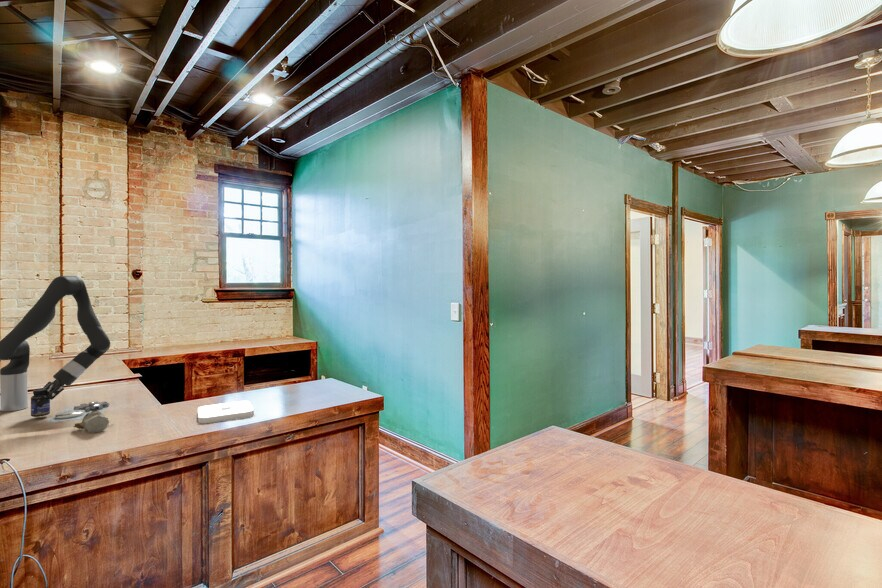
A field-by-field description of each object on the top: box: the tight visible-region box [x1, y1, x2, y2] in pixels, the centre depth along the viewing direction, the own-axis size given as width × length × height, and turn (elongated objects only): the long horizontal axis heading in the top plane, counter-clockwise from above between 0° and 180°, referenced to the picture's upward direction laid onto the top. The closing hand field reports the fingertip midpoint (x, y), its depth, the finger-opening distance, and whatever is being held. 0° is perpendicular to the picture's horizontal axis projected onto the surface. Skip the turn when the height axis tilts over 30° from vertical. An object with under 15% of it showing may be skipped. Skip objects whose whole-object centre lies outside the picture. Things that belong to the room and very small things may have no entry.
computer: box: [197, 400, 255, 424], centre depth 196 cm, size 22×22×3 cm
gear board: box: [45, 403, 110, 424], centre depth 193 cm, size 24×17×2 cm
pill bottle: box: [30, 388, 51, 418], centre depth 186 cm, size 6×6×11 cm
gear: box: [73, 401, 110, 412], centre depth 201 cm, size 13×13×3 cm
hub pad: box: [54, 410, 85, 419], centre depth 189 cm, size 10×10×1 cm
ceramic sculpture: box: [74, 409, 110, 434], centre depth 174 cm, size 11×9×15 cm
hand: (35, 404), depth 184 cm, fingers closed on pill bottle, 6 cm apart
